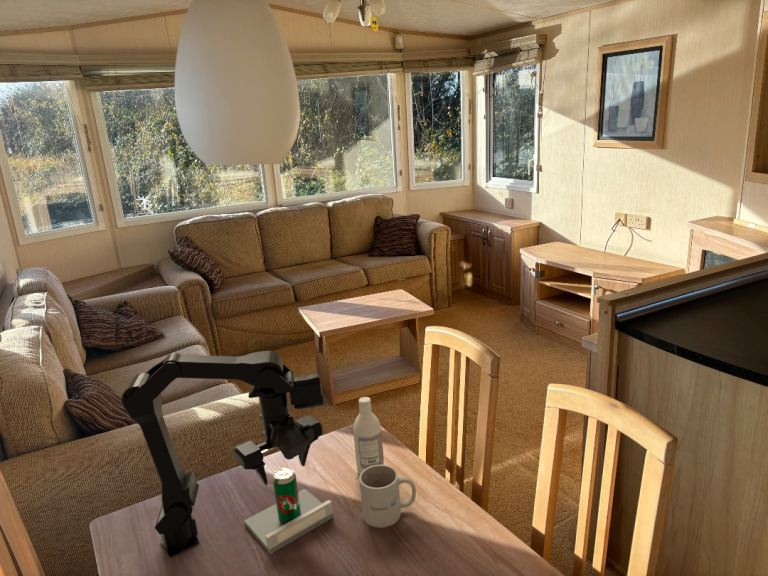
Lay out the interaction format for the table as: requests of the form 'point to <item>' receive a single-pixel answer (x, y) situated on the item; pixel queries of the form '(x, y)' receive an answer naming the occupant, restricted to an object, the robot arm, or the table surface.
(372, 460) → the bath foam
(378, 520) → the mug
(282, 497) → the soda can
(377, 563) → the table surface
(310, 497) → the shelf
